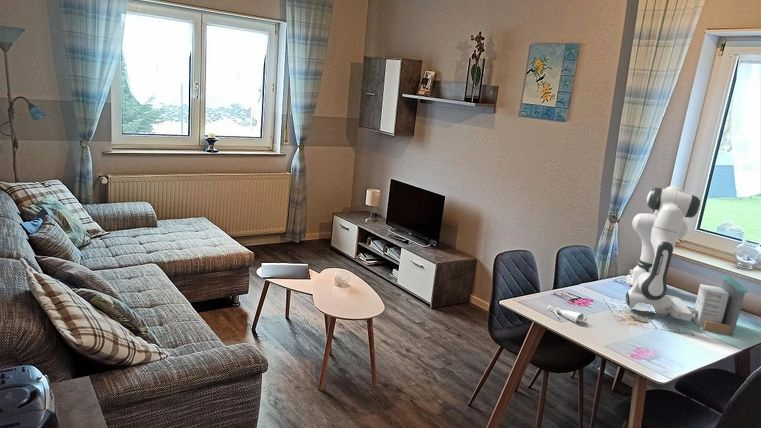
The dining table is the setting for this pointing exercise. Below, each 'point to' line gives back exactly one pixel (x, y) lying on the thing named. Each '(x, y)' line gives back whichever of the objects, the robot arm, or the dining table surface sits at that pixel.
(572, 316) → the woman figurine
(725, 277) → the display stand
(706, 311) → the supplement box
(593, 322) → the dining table surface
